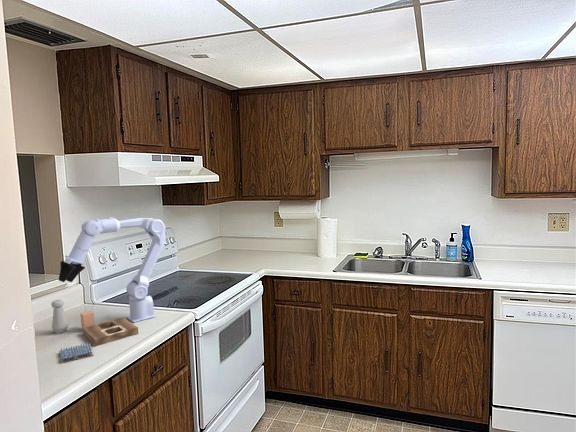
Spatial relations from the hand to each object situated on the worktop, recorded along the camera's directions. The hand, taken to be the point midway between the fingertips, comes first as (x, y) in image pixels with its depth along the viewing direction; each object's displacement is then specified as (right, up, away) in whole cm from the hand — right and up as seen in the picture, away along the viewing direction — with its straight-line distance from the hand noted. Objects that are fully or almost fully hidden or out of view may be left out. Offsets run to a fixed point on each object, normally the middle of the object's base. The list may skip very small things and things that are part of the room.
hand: (65, 281), depth 165 cm
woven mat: (+12, -24, -15) cm, 31 cm away
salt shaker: (-6, -22, +7) cm, 23 cm away
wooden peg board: (+17, -21, +2) cm, 27 cm away
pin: (+5, -21, +8) cm, 23 cm away
